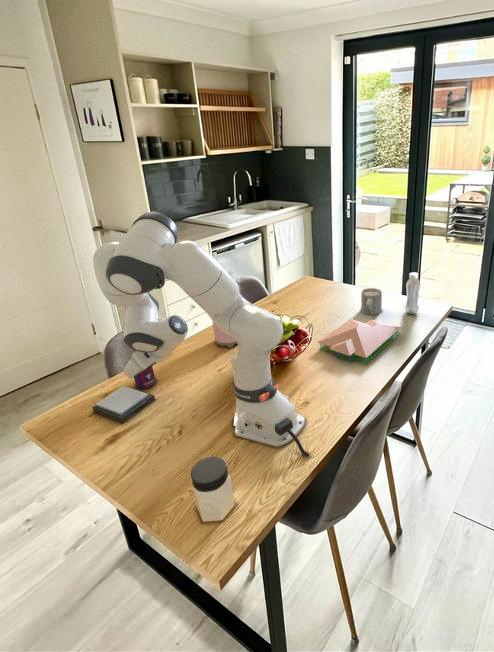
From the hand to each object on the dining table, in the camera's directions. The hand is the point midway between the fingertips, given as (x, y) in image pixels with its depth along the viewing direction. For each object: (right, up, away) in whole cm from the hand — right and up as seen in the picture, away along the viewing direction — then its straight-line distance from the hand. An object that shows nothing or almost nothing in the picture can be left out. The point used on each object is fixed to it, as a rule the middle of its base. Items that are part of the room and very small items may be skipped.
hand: (144, 367), depth 142 cm
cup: (-2, -6, +4) cm, 8 cm away
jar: (+38, -26, -46) cm, 65 cm away
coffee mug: (+88, +18, +55) cm, 105 cm away
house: (+79, +6, +26) cm, 84 cm away
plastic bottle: (+108, +18, +52) cm, 121 cm away
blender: (+25, +6, +31) cm, 40 cm away
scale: (-3, -12, -8) cm, 14 cm away
